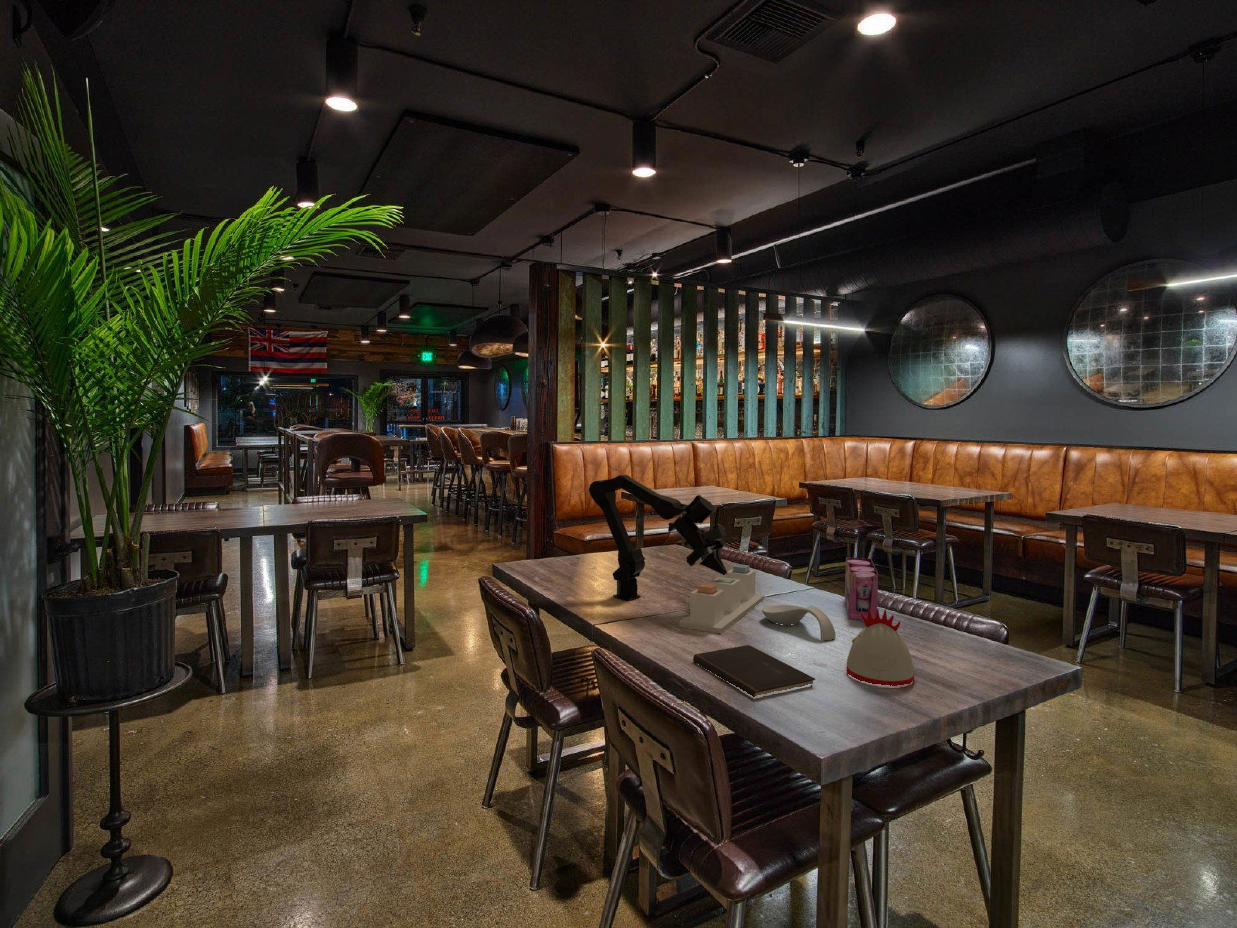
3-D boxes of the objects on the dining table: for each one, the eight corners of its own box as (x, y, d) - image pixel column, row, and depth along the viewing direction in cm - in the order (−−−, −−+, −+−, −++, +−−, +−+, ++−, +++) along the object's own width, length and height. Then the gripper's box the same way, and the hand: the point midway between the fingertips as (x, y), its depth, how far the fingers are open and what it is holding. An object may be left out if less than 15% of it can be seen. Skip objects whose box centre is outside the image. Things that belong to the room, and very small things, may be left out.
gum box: (878, 623, 179) (879, 575, 179) (848, 620, 182) (849, 573, 181) (870, 601, 202) (872, 558, 201) (844, 598, 205) (845, 556, 204)
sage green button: (716, 594, 188) (716, 580, 188) (721, 591, 191) (721, 577, 191) (729, 595, 186) (729, 582, 186) (733, 592, 189) (734, 579, 189)
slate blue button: (732, 579, 200) (732, 566, 200) (736, 576, 203) (737, 564, 203) (745, 580, 198) (745, 567, 198) (749, 578, 201) (749, 565, 201)
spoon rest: (753, 619, 183) (753, 594, 183) (785, 614, 188) (785, 590, 188) (813, 645, 162) (813, 617, 162) (847, 638, 167) (847, 611, 167)
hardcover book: (748, 653, 157) (748, 644, 156) (815, 689, 136) (815, 678, 136) (692, 664, 150) (692, 654, 150) (753, 702, 129) (754, 691, 129)
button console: (679, 626, 175) (679, 592, 175) (727, 595, 208) (728, 566, 208) (721, 634, 169) (721, 598, 169) (764, 600, 202) (764, 570, 202)
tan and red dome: (847, 660, 151) (849, 597, 150) (911, 669, 146) (914, 604, 145) (845, 682, 138) (847, 614, 137) (915, 692, 133) (918, 621, 132)
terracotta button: (697, 600, 176) (697, 585, 175) (703, 597, 179) (703, 582, 179) (711, 602, 174) (711, 587, 173) (716, 599, 177) (716, 584, 177)
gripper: (696, 520, 182) (733, 562, 177) (720, 512, 198) (754, 551, 193) (671, 545, 186) (706, 587, 181) (696, 535, 202) (729, 574, 197)
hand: (725, 574), depth 188 cm, fingers closed
